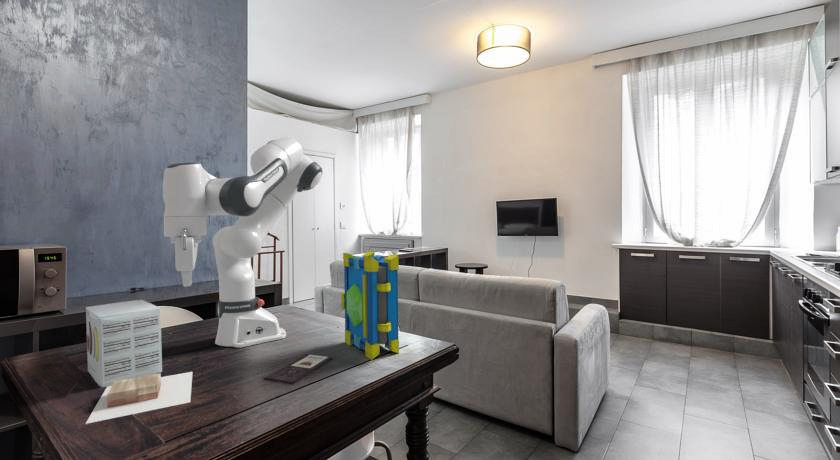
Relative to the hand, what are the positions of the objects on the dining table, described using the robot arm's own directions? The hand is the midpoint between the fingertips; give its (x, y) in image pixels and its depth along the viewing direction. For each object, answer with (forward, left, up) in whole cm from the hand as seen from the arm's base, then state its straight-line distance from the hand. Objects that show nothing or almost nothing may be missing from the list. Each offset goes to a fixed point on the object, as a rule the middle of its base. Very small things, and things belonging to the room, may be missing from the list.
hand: (187, 285), depth 94 cm
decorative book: (-49, -5, -25) cm, 56 cm away
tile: (+6, 0, -23) cm, 24 cm away
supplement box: (+16, -20, -25) cm, 36 cm away
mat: (+9, 0, -25) cm, 27 cm away
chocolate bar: (-26, +1, -26) cm, 37 cm away
